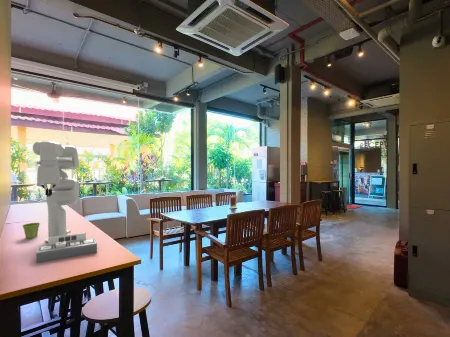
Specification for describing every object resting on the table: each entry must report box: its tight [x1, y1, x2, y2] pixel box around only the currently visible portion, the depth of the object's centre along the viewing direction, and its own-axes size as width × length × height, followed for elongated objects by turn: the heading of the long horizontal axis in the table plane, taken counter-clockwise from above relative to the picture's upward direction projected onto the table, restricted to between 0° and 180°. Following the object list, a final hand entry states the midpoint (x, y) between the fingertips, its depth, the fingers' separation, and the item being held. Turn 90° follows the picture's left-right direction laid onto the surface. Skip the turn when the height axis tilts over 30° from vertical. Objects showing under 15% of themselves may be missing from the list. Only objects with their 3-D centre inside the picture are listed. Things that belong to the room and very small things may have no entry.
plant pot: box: [22, 222, 41, 240], centre depth 166 cm, size 9×9×9 cm
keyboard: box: [35, 232, 98, 264], centre depth 136 cm, size 27×12×9 cm, turn 124°
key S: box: [56, 241, 66, 248], centre depth 134 cm, size 5×5×3 cm
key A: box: [40, 246, 52, 251], centre depth 131 cm, size 5×5×3 cm
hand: (48, 196), depth 139 cm, fingers closed
